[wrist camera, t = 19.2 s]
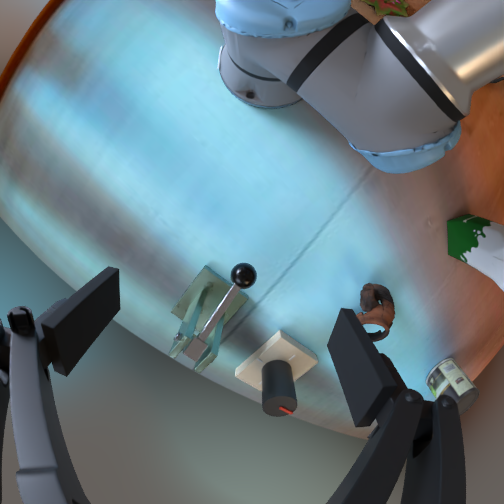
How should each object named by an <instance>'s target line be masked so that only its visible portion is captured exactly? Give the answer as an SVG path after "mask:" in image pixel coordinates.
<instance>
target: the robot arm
mask: <svg viewBox="0 0 504 504" xmlns="http://www.w3.org/2000/svg"><path fill="white" fill-rule="evenodd" d="M350 5H351V0H216V10H215V13H216V16H217V18H218V19H219V22H220V26H221V29H222V33H223V36H224V40H225V45H224V47H223V48H222V46H221V48H222V51H221V48H220V51H219V59H218V67H217V70H218V68H219V70H220V74H221V77H222V80H223V82H224V84H225V86H226V87H227V89H228V90H229V91H230V92H231V93H232V94H233V95H234V96H235V97H236V98H238V99H239V100H241V101H242V102H244V103H246V104H249V105H251V106H254V107H258V108H265V109H277V108H283V107H287V106H290V105H293V104H295V103H297V102H299V101H300V100H302V99H304V100H305V101H306V102H307V103H309V104H310V105H311V106H312V107H313V108H314V109H315V110H317V111H318V112H319V113H320V114H321V115H322V116H323V117H324V118H325V119H326V120H328V121H329V122H330V123H331V124H332V125H333V126H334V127H335V128H336V129H337V130H338V131H339V132H340V133H341V134H342V135H343V136H344V137H345V138H346V139H347V140H348V141H349V144H350V146H351V147H352V148H353V149H354V150H356V151H358V152H359V153H361V154H362V155H363V156H364V157H365V158H366V159H367V160H368V161H369V162H370V163H371V164H372V165H373V166H374V167H376V168H377V169H380V170H382V171H384V172H387V173H393V174H400V173H408V172H412V171H416V170H419V169H422V168H424V167H426V166H429V165H431V164H433V163H434V162H436V161H438V160H439V159H441V158H442V157H443V156H445V151H447V150H451V149H453V147H454V146H455V145H456V144H457V142H458V140H459V138H460V135H461V126H460V120H461V119H463V118H464V117H466V116H468V115H469V114H470V106H471V97H472V95H473V92H474V91H476V90H478V89H479V88H481V87H483V86H485V85H486V84H488V83H497V82H499V81H502V80H504V77H501V78H498V77H500V76H501V75H503V74H504V0H431V1H430V2H429V3H428V4H426V5H425V6H424V7H422V8H421V9H420V10H419V11H417V12H416V13H415V14H414V15H412V16H410V17H399V16H389V15H386V16H384V17H383V18H382V19H381V20H380V21H379V22H378V23H377V24H376V25H373V24H372V23H371V22H369V21H368V20H367V19H366V18H364V17H363V16H362V15H361V14H359V13H358V12H357V11H356V10H354V9H353V8H352V7H350ZM496 78H498V79H496ZM495 79H496V80H495ZM119 310H120V289H119V269H117V268H113V267H107V268H106V269H104V270H103V271H102V272H101V273H99V274H98V275H97V276H95V277H94V278H93V279H92V280H90V281H89V282H88V283H87V284H86V285H84V286H83V287H82V288H81V289H79V290H78V291H77V292H76V293H75V294H73V295H72V296H71V297H70V298H69V299H66V298H64V299H62V300H59V301H57V302H56V303H55V304H53V305H52V306H51V307H50V308H49V309H47V311H45V312H44V313H43V314H42V315H40V316H39V317H38V318H37V319H36V320H35V321H34V319H33V315H32V311H31V309H30V308H28V307H25V306H19V307H15V308H13V309H11V310H10V311H9V312H8V314H7V317H8V321H9V324H10V327H11V328H6V327H3V324H2V321H1V319H0V504H1V502H2V476H1V475H2V472H1V471H2V448H3V437H4V429H5V421H6V414H7V408H8V403H9V398H10V403H11V415H12V425H13V433H14V439H15V445H16V451H17V456H18V460H19V465H20V471H17V472H16V481H17V485H18V488H19V492H20V495H21V499H22V502H23V504H91V503H90V502H89V500H88V499H87V497H86V496H85V494H84V492H83V489H82V487H81V485H80V482H79V480H78V478H77V475H76V472H75V470H74V467H73V465H72V462H71V459H70V456H69V453H68V450H67V447H66V444H65V441H64V437H63V434H62V430H61V426H60V423H59V419H58V415H57V410H56V406H55V401H54V397H53V391H52V385H51V379H50V373H49V370H48V365H49V364H50V363H51V362H52V365H53V368H54V371H56V372H58V373H60V374H62V375H64V376H66V377H67V376H68V375H69V373H70V372H71V371H72V369H73V368H74V367H75V365H76V364H77V363H78V361H79V360H80V358H81V357H82V356H83V355H84V354H85V352H86V351H87V349H88V348H89V347H90V346H91V345H92V343H93V342H94V341H95V340H96V338H97V337H98V336H99V335H100V333H101V332H102V331H103V330H104V328H105V327H106V326H107V325H108V323H109V322H110V321H111V320H112V319H113V317H114V316H115V315H116V314H117V313H118V311H119ZM327 347H328V350H329V352H330V355H331V358H332V361H333V363H334V366H335V369H336V372H337V374H338V377H339V380H340V383H341V386H342V389H343V391H344V394H345V397H346V400H347V403H348V406H349V409H350V412H351V415H352V418H353V421H354V424H355V427H366V426H370V425H371V424H372V422H373V421H374V420H375V418H376V420H377V423H378V425H377V426H376V427H375V429H374V430H373V431H372V432H371V434H370V435H369V436H368V437H367V438H369V440H368V442H367V443H366V445H365V447H364V449H363V450H362V452H361V454H360V455H359V457H358V459H357V460H356V462H355V463H354V465H353V466H352V468H351V469H350V471H349V473H348V474H347V476H346V477H345V478H344V480H343V482H342V483H341V484H340V486H339V487H338V488H337V490H336V491H335V493H334V494H333V495H332V497H331V498H330V499H329V500H328V502H327V503H326V504H386V502H387V501H388V499H389V497H390V495H391V492H392V490H393V488H394V486H395V484H396V482H397V480H398V477H399V475H400V473H401V471H402V468H403V466H404V463H405V460H406V458H407V465H406V473H405V480H404V488H403V493H402V499H401V504H466V472H465V456H464V445H463V437H462V429H461V423H460V416H459V410H458V405H457V403H456V401H455V400H454V399H453V398H452V397H451V396H448V395H444V394H442V395H439V396H438V398H437V399H436V400H435V402H433V401H426V400H424V399H423V397H422V395H421V394H420V393H419V392H417V391H415V390H412V389H408V388H407V387H406V385H405V383H404V381H403V380H402V378H401V376H400V375H399V373H398V372H397V370H396V368H395V367H394V365H393V363H392V361H391V360H390V359H389V358H388V357H387V356H386V355H385V354H384V353H379V352H378V350H377V349H376V347H375V345H374V344H373V342H372V340H371V339H370V337H369V335H368V334H367V332H366V330H365V329H364V327H363V326H362V324H361V322H360V321H359V319H358V318H357V316H356V314H355V313H354V311H353V310H352V309H345V308H341V310H340V312H339V315H338V318H337V321H336V323H335V326H334V329H333V331H332V334H331V336H330V339H329V342H328V344H327Z"/></svg>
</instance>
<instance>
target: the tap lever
mask: <svg viewBox="0 0 504 504" xmlns="http://www.w3.org/2000/svg"><path fill="white" fill-rule="evenodd" d="M256 279H257V273H256V270H255V268H254V267H253V266H252V265H250V264H248V263H239V264H237V265H236V266H235V267H234V268H233V269H232V271H231V280H232V282H233V284H232V286H231V287H230V289H229V290H228V292H227V293H226V294H225V296H224V297H223V299H222V300H221V302H220V303H219V305H218V306H217V308H216V309H215V311H214V312H213V314H212V315H211V316H210V318H209V319H208V321H207V322H206V324H205V325H204V327H203V328H202V330H201V331H200V333H199V334H198V336H196V335H195V334H193V336H192V339H191V341H190V342H189V343H188V344H187V345H186V346H185V347H184V349H183V354H184V355H186V356H188V357H189V358H191V359H193V360H194V361H196V362H197V361H198V360H199V359H200V357H201V356H202V354H203V353H204V351H205V350H206V348H207V347H208V345H207V343H206V342H205V340H206V339H207V338H208V336H209V335H210V333H211V332H212V330H213V329H214V327H215V326H216V324H217V323H218V321H219V320H220V318H221V317H222V315H223V314H224V313H225V311H226V310H227V308H228V307H229V305H230V304H231V302H232V301H233V299H234V298H235V296H236V295H237V293H238V292H239V290H240V289H247V288H250V287H251V286H252V285H253V284H254V283H255V281H256Z"/></svg>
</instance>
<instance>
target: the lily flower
mask: <svg viewBox="0 0 504 504" xmlns="http://www.w3.org/2000/svg"><path fill="white" fill-rule="evenodd" d="M361 1H363V2H365V3H368V4H370V5H372V6H375V10H376V13H377V14H376V16H378V15H382V14H383V15H384V14H387V15H389V16H399V17H400V15H403V16H405V17H409V16H408V14H407V12H406V10H405V8H407V7H408V5H409V4H408V3H406V2H404V1H403V0H361ZM399 14H400V15H399Z"/></svg>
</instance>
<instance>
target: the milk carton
mask: <svg viewBox="0 0 504 504" xmlns="http://www.w3.org/2000/svg"><path fill="white" fill-rule="evenodd" d="M447 229H448V255H450V256H452V257H454V258H456V259H459V260H461V261H463V262H465V263H467V264H468V265H470V266H472V267H473V268H475V269H477V270H478V271H480V272H482V273H483V274H485V275H486V276H488V277H490V278H491V279H493V280H494V281H495V282H496V284H497V285H498V286H499V287H500V288H501V289H502V290H503V291H504V225H501V224H498V223H495V222H493V221H490V220H487V219H484V218H481V217H478V216H475V215H471V214H467V215H464V216H461V217H458V218H455V219H452V220H449V221H447Z"/></svg>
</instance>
